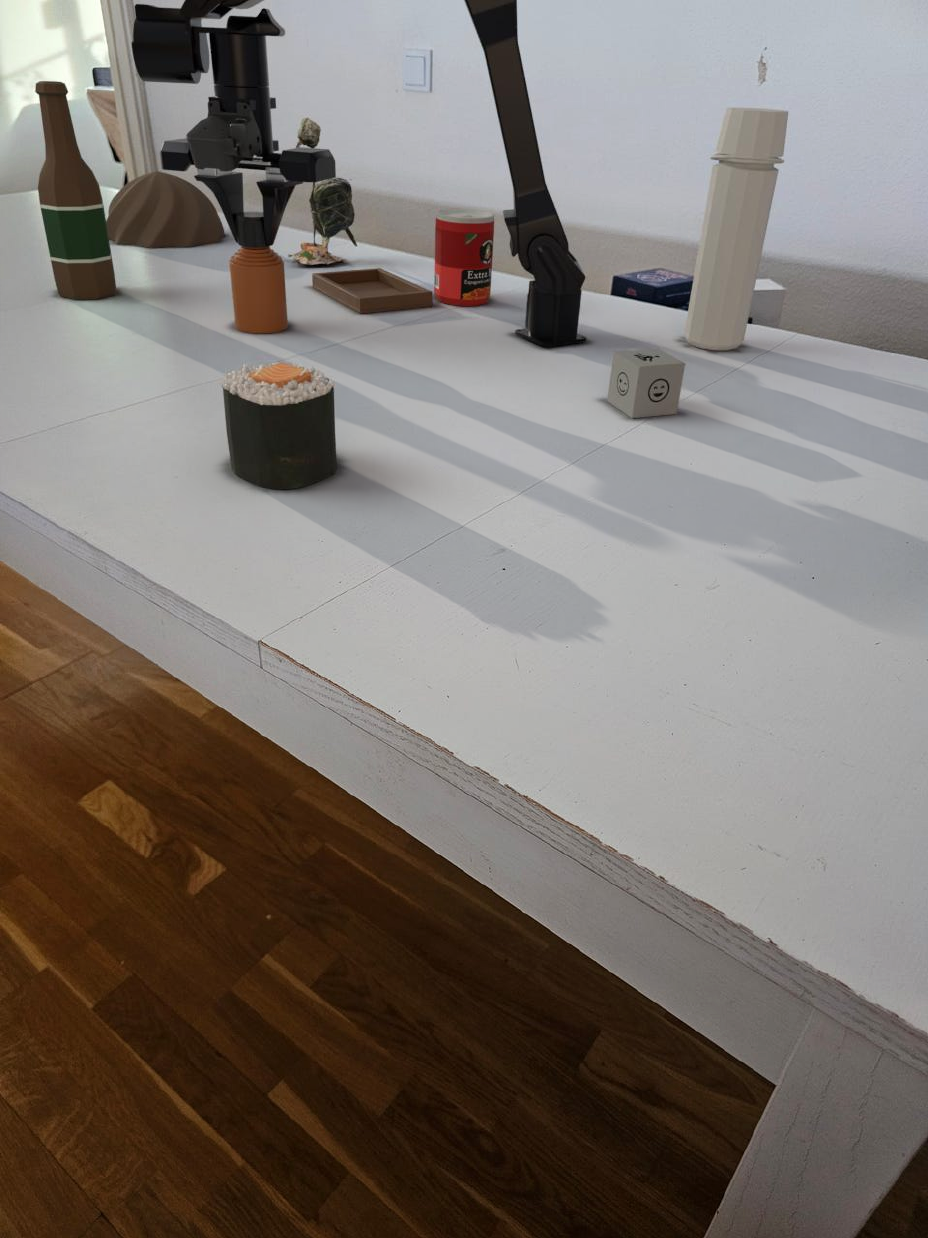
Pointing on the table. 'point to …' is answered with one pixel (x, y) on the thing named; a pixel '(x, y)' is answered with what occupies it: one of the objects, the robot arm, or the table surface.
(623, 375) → the dice cube
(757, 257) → the water bottle
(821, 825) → the table surface
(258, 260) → the bottle
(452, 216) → the canned food
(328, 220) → the plant with pod
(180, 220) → the decorative dome
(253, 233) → the cap
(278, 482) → the sushi
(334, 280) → the tray
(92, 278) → the beer bottle
